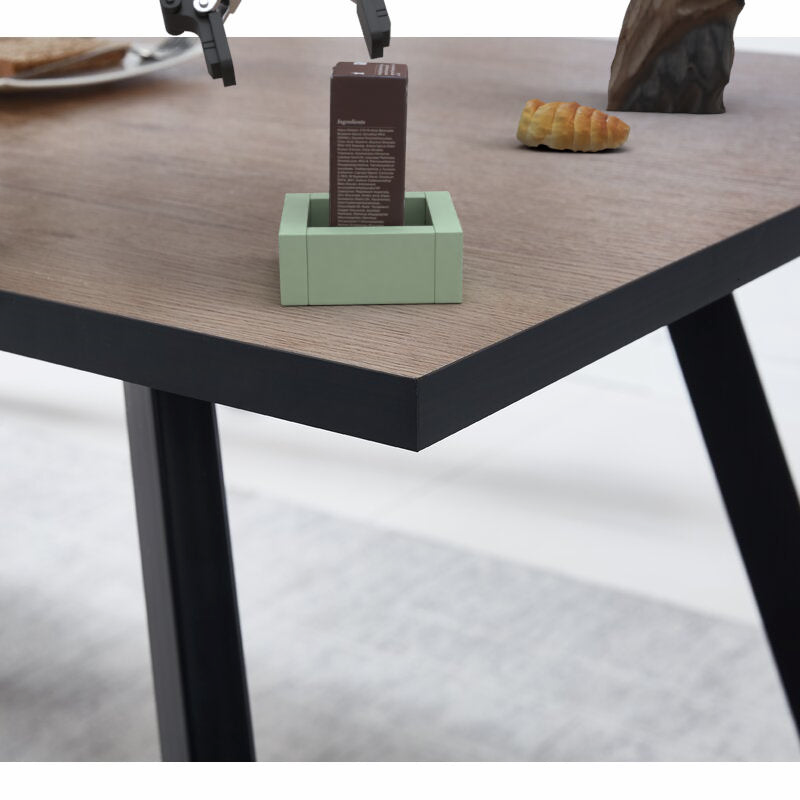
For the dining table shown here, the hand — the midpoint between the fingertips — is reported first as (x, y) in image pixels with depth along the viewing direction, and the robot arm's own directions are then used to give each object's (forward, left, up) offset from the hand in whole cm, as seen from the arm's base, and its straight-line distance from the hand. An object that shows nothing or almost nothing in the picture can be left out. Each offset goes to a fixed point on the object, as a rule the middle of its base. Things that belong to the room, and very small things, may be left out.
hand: (304, 63), depth 73 cm
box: (+3, -2, -12) cm, 13 cm away
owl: (+34, +59, -12) cm, 69 cm away
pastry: (+21, +38, -12) cm, 45 cm away
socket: (+3, -2, -12) cm, 13 cm away
